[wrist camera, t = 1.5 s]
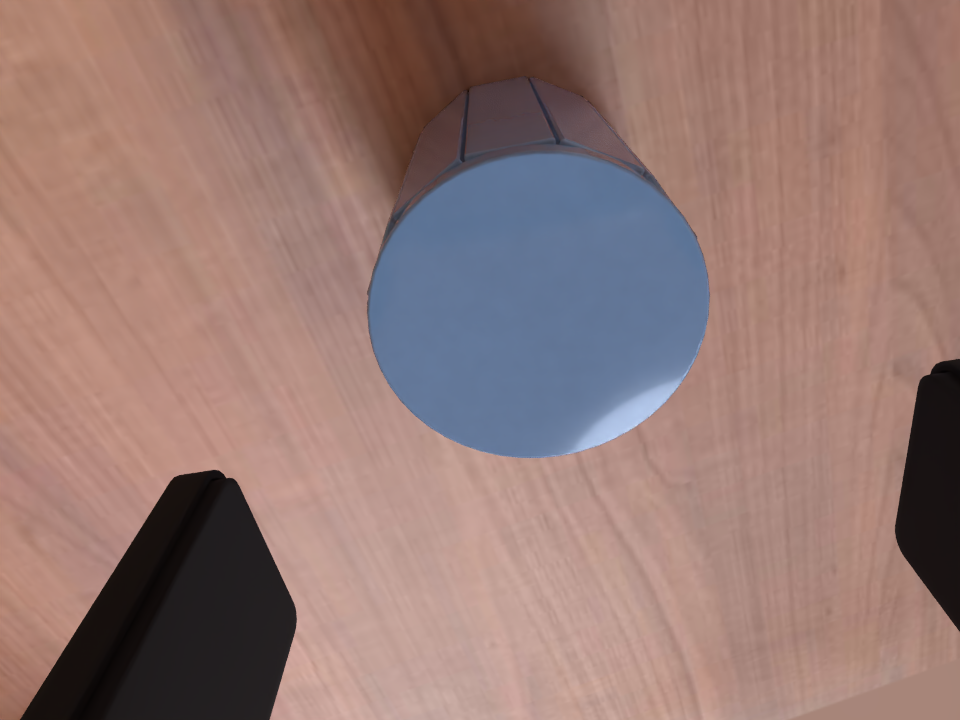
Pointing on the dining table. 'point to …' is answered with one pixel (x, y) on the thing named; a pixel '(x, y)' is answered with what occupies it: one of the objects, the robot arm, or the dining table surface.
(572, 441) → the blue faceted cylinder
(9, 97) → the dining table surface
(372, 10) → the dining table surface
